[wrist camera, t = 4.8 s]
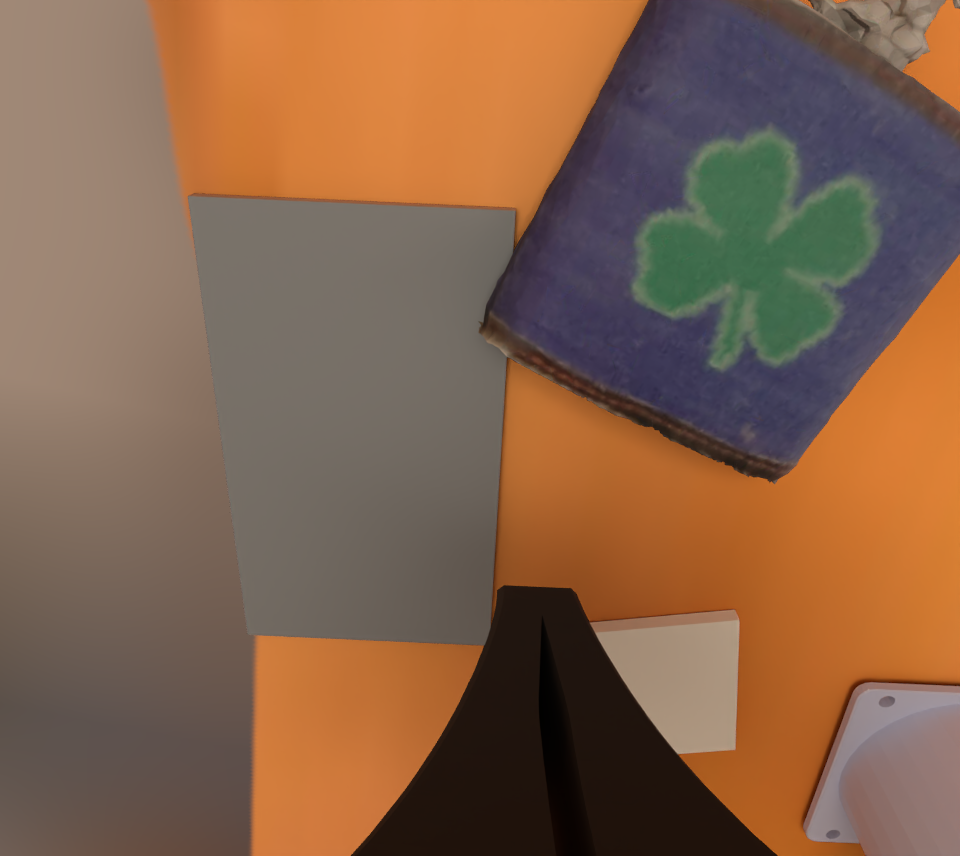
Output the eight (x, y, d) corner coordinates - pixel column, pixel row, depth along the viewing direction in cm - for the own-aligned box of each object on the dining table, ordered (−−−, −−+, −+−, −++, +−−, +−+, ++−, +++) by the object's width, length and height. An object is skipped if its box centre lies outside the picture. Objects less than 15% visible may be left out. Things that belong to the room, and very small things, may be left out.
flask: (760, 454, 21) (1044, 87, 17) (801, 509, 18) (1149, 88, 14) (474, 311, 19) (711, -141, 15) (472, 349, 16) (760, -189, 12)
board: (515, 207, 18) (515, 210, 18) (489, 637, 24) (489, 645, 24) (194, 193, 18) (187, 196, 18) (251, 626, 24) (247, 634, 24)
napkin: (734, 609, 24) (739, 619, 23) (731, 738, 26) (735, 749, 26) (490, 631, 24) (490, 641, 24) (511, 754, 27) (511, 766, 26)
